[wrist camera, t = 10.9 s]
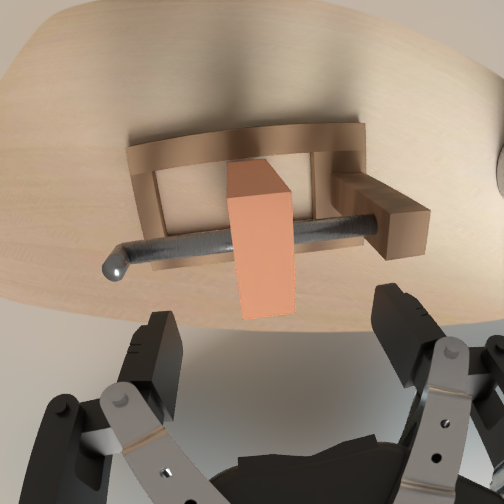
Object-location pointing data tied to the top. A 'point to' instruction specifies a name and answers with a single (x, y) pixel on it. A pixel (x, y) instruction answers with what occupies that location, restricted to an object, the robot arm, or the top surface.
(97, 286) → the top surface
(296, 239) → the hook arm
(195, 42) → the top surface
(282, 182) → the salmon wooden arch
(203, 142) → the wooden hook stand
